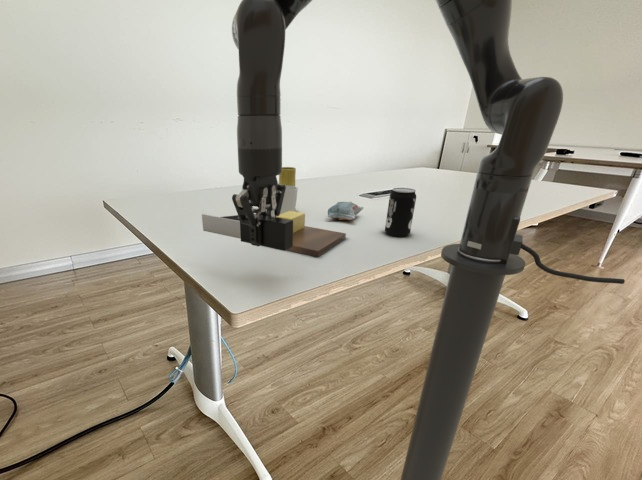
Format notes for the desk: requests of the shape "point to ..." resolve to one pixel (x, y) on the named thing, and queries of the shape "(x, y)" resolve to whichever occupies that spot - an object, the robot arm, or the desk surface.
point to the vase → (287, 176)
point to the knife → (273, 230)
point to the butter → (294, 219)
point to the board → (315, 240)
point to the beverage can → (400, 212)
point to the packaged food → (344, 211)
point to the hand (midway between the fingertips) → (261, 242)
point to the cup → (289, 199)
